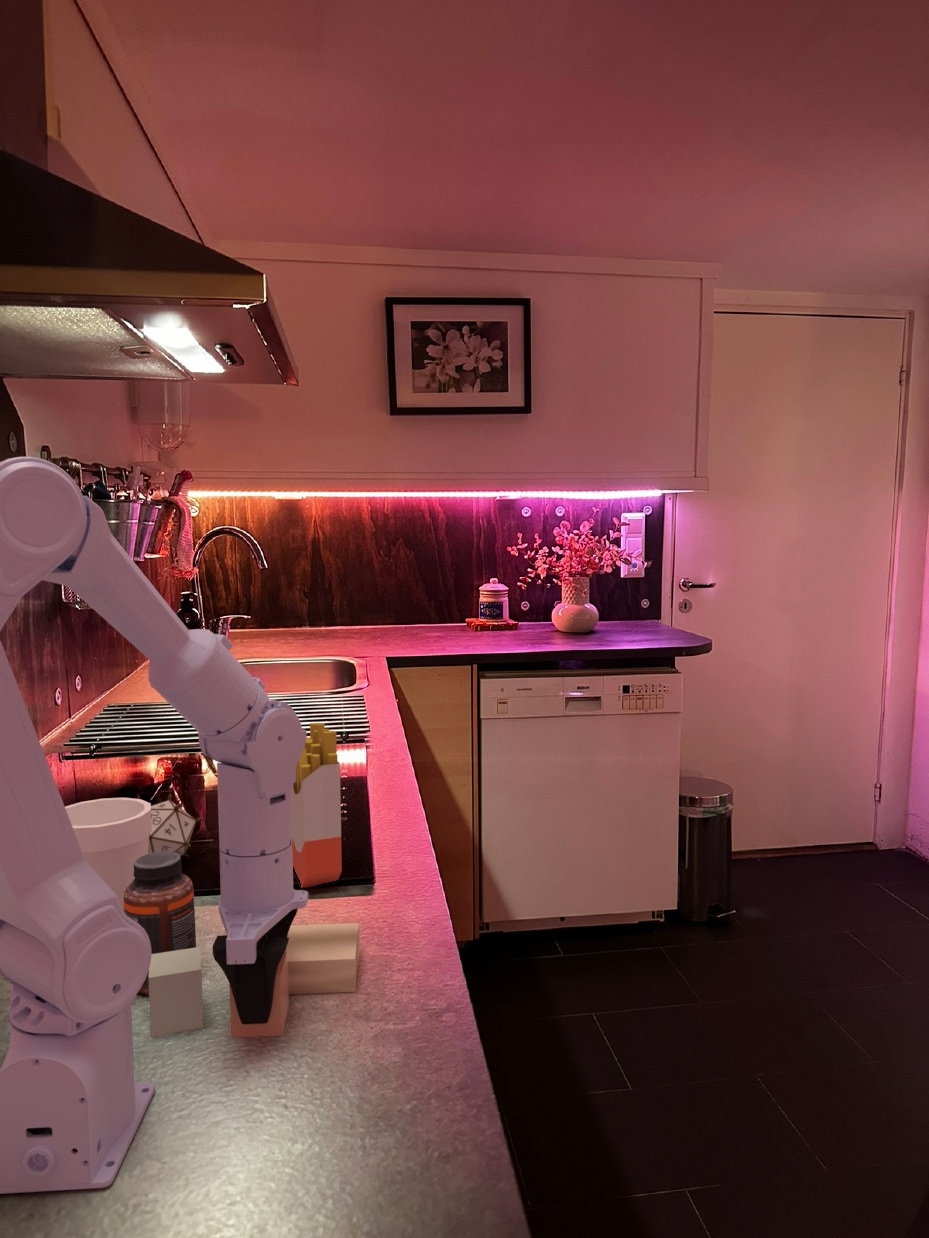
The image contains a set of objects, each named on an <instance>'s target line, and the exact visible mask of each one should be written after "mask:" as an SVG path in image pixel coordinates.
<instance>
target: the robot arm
mask: <svg viewBox="0 0 929 1238" xmlns="http://www.w3.org/2000/svg"><path fill="white" fill-rule="evenodd" d="M80 489H81V488H80V487H79V485H78V484H77V483H76V481H75V480H74V479H73V477H71V475H69V473H68V472H66V471H65V470H64V469H63V468H61V467H60V466H58V465H57V464H55V463H52V462H51V461H49V460H46V459H43V458H40V457H35V456H15V457H10V458H6V459H5V460H3V461H0V632H1V630H2V629H3V628H4V625H5V624H6V622H7V621H8V620H9V618H10V616H11V615H12V613H13V611H14V610H15V609H16V607H17V605H18V604H19V602H20V601H21V599H22V598H23V596H25V595H26V594H27V593H28V592H30V591H31V590H32V589H33V588H34V587H36V586H37V585H38V584H39V583H40V582H42V581H44V582H49V583H54V584H58V585H62V586H65V587H68V588H69V589H70V590H72V592H73V593H75V594H76V595H77V596H78V597H79V598H81V599H82V600H83V601H84V602H85V603H86V604H87V605H88V606H89V607H90V608H91V609H93V610H94V611H95V612H96V613H97V614H98V615H99V616H100V617H102V618H103V619H104V620H105V621H106V622H107V624H109V625H110V626H112V628H114V629H115V630H116V631H117V632H118V633H120V635H121V636H123V638H125V639H126V640H127V642H129V643H130V644H132V645H133V646H134V647H135V648H136V649H137V650H138V651H139V652H140V653H141V654H143V655H144V656H145V658H147V659H148V660H149V664H148V672H147V673H148V674H147V675H148V676H147V677H148V678H147V679H148V682H149V684H150V686H151V688H153V689H154V690H155V691H156V692H157V694H159V695H160V696H161V697H162V699H164V700H165V702H166V703H168V704H169V705H170V706H171V707H172V708H173V709H174V710H175V711H176V712H177V713H178V714H179V715H180V716H181V717H182V718H183V719H184V720H185V721H187V723H188V724H189V725H191V726H192V727H193V728H194V729H195V731H197V735H198V743H199V747H200V750H201V752H202V754H203V756H205V757H209V759H210V758H211V760H213V761H215V762H217V763H216V775H217V776H216V777H217V808H218V809H217V811H218V841H219V843H218V844H219V875H220V878H219V879H220V881H219V882H220V884H219V885H220V898H219V899H218V912H219V916H220V919H221V922H222V925H223V927H224V930H225V931H224V932H225V933H226V935H225V934H224V935H223V934H222V935H221V934H220V935H216V938H215V940H214V941H213V944H212V956H213V958H214V959H213V960H214V961H215V962H216V963H217V965H219V967H220V968H221V970H222V972H223V973H224V975H225V977H226V979H227V981H228V984H230V986H229V988H230V987H231V990H232V993H233V996H234V1000H235V1004H236V1008H237V1011H238V1014H239V1018H240V1020H241V1023H242V1024H265V1023H268V1020H269V1016H270V1013H271V1008H272V1003H273V995H274V987H275V979H276V974H277V969H278V965H279V963H280V961H281V959H282V957H283V954H284V952H285V950H286V948H287V944H288V941H289V938H287V936H288V932H289V929H290V926H291V925H293V921H294V919H295V918H296V915H297V914H298V910H299V909H300V910H301V909H304V908H306V907H307V905H308V904H309V903H308V902H309V891H306V890H296V889H295V888H294V872H293V854H292V806H291V790H292V789H293V784H294V783H295V782H296V766H297V763H298V760H299V758H300V757H301V755H302V752H303V750H304V747H305V743H306V737H307V735H308V733H307V730H306V729H303V727H302V724H301V720H300V719H299V717H298V715H297V713H296V712H295V709H293V707H292V706H290V705H289V704H288V703H287V702H284V701H281V700H276V699H270V697H269V695H268V694H267V691H265V687H266V685H265V684H264V682H263V681H262V680H261V679H260V678H259V677H253V676H252V675H251V674H250V673H249V672H248V670H247V669H246V668H245V667H244V666H243V665H242V664H241V663H240V662H239V660H238V659H237V658H236V657H235V656H234V655H233V654H232V652H231V651H230V650H231V649H232V648H233V643H232V642H231V641H230V640H229V639H228V638H227V636H226V635H225V634H217V633H214V632H213V631H210V630H208V629H203V628H202V629H201V628H195V629H189V628H188V627H187V626H186V625H185V624H184V622H183V621H182V620H181V619H180V617H179V616H178V615H177V613H176V612H175V611H174V609H173V608H171V606H170V605H169V604H168V603H167V601H166V600H165V599H164V598H163V596H162V595H161V594H160V592H159V591H158V590H157V589H156V588H155V586H154V585H153V584H152V582H151V581H150V580H149V579H148V577H147V576H146V575H145V574H144V573H143V571H142V570H141V569H140V568H139V567H138V565H137V563H136V562H135V561H134V560H133V559H132V557H131V556H130V555H129V554H128V553H127V552H126V550H125V549H124V547H123V546H122V545H121V544H120V543H119V541H118V540H117V539H116V538H115V536H114V535H113V533H112V531H111V528H110V527H109V524H108V520H107V518H106V515H105V512H104V511H103V509H102V507H100V506H99V505H98V504H97V503H96V502H94V501H93V500H92V499H91V498H90V497H89V496H87V495H83V493H82V492H81V490H80ZM65 807H66V806H65V804H64V801H63V799H62V796H61V794H60V791H59V788H58V786H57V783H56V781H55V778H54V775H53V773H52V770H51V768H50V765H49V763H48V760H47V757H46V755H45V752H44V749H43V747H42V745H41V742H40V739H39V737H38V734H37V731H36V729H35V726H34V723H33V722H32V719H31V717H30V714H29V710H28V708H27V706H26V703H25V701H24V698H23V695H22V693H21V690H20V688H19V685H18V682H17V680H16V677H15V675H14V671H13V670H12V667H11V664H10V661H9V659H8V657H7V654H6V652H5V649H4V646H3V644H2V641H1V640H0V977H1V978H4V980H7V981H10V982H9V990H10V991H9V992H10V993H9V994H10V999H9V1000H10V1001H9V1019H10V1020H9V1023H10V1036H9V1037H10V1038H9V1045H8V1050H7V1053H6V1055H5V1058H4V1061H3V1063H2V1065H1V1067H0V1194H19V1193H21V1194H22V1193H34V1192H52V1191H53V1192H54V1191H69V1190H70V1191H71V1190H72V1191H73V1190H85V1189H87V1190H88V1189H103V1188H106V1187H108V1186H111V1184H112V1183H113V1182H114V1180H115V1178H116V1176H117V1173H118V1171H119V1169H120V1167H121V1165H122V1162H123V1160H124V1158H125V1156H126V1154H127V1152H128V1149H129V1148H130V1145H131V1143H132V1140H133V1139H134V1136H135V1134H136V1133H137V1130H138V1128H139V1125H140V1123H141V1121H142V1119H143V1117H144V1115H145V1113H146V1111H147V1108H148V1106H149V1104H150V1101H151V1100H152V1098H153V1095H154V1093H155V1091H156V1084H155V1082H153V1081H140V1082H135V1068H134V1067H135V1065H134V1064H135V1062H134V1061H135V1060H134V1042H133V1041H134V1038H133V1035H134V1034H133V1017H132V1016H133V1013H132V1011H133V1009H132V1007H133V1006H134V1004H135V997H136V996H137V994H138V991H139V990H140V989H141V987H142V985H143V983H144V981H145V979H146V976H147V974H148V971H149V967H150V963H151V943H150V940H149V937H148V934H147V933H146V931H145V930H144V928H143V927H142V926H141V925H140V924H138V923H136V922H135V921H133V920H132V919H130V918H129V917H128V916H127V915H126V914H125V913H124V912H123V910H122V908H121V906H120V903H119V900H118V898H117V896H116V894H115V893H114V892H113V891H112V889H111V888H110V887H109V886H108V885H107V884H106V883H105V881H104V880H103V879H102V878H101V877H100V876H99V875H98V874H97V873H96V872H95V871H94V870H93V868H92V867H91V866H90V865H89V864H88V863H87V861H86V860H85V858H84V855H83V853H82V850H81V847H80V845H79V842H78V840H77V837H76V835H75V832H74V829H73V827H72V824H71V822H70V819H69V816H68V814H67V811H66V809H65Z"/></svg>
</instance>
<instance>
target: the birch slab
mask: <svg viewBox="0 0 929 1238" xmlns="http://www.w3.org/2000/svg"><path fill="white" fill-rule="evenodd" d="M287 938H289V941H288V944H287V948H286V950H285V951H287V953H288V995H290V996H292V995H309V994H336V993H337V994H338V993H356V991H357V990H356V989H357V983H358V982H357V981H358V980H357V979H358V971H359V963H360V952H361V951H360V948H361V946H360V941H361V940H360V923H359V922H350V923H349V922H347V923H346V922H345V923H317V924H315V923H314V924H294V925H293V924H291V926H290V929H289V932H288V936H287Z"/></svg>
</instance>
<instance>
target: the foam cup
mask: <svg viewBox="0 0 929 1238" xmlns="http://www.w3.org/2000/svg"><path fill="white" fill-rule="evenodd" d="M151 804H152V803H150V802H148V801H146V800H143V799H140V798H134V797H133V798H131V797H111V798H110V797H108V798H99V799H98V798H97V799H92V800H86V801H85V800H84V801H80V802H76V803H73V804H69V805H66V806H65V809H66V811H67V814H68V816H69V819H70V822H71V824H72V827H73V829H74V832H75V835H76V837H77V840H78V842H79V845H80V847H81V850H82V853H83V855H84V858H85V860H86V861H87V863H88V864H89V865H90V866H91V867H92V868H93V870H94V871H95V872H96V873H97V874H98V875H99V876H100V877H101V878H102V879H103V880H104V881H105V883H106V884H107V885H108V886H109V887H110V888H111V889H112V891H113V892H114V893H115V894H116V896H117V898H118V900H119V903H120V906H121V908H122V910H123V912H124V892H125V890H126V888H127V887H128V885H129V884H130V883H131V882H133V880H134V879H135V877H134V875H133V874H134V861H135V860H136V859H138V858H139V857H141V856H143V855H146V854H148V844H149V834H150V833H152V826H151Z"/></svg>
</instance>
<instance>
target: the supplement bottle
mask: <svg viewBox="0 0 929 1238" xmlns="http://www.w3.org/2000/svg"><path fill="white" fill-rule="evenodd" d="M181 857H182V856H180V855H179V854H178V853H175V852H170V851H163V852H154V853H149V854H146V855H143V856H141V857H139V858H138V859H136V860H135V861H134V874H133V875H134V877H135V879H134V880H133V882H131V883H130V884H129V885H128V887H127V888H126V890H125V892H124V913H125V914H126V915H127V916H128V917H129V918H130V919H132V920H133V921H135V922H136V923H138V924H140V925H141V926H142V927H143V928H144V930H145V931H146V933H147V934H148V937H149V940H150V943H151V954H157V953H163V952H170V951H176V950H183V949H189V948H196V947H197V936H196V935H197V934H196V916H195V914H196V912H195V894H194V891H195V890H194V883H193V881H192V879H191V878H190V877H189V876H187V875H186V874H184V873H183V872H182V869H183V866H182V858H181ZM138 993H139V994H143V995H144V994H145V995H149V971H148V974H147V976H146V979H145V981H144V983H143V985H142V987H141V989H140V990H139V991H138ZM138 993H137V994H138Z"/></svg>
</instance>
